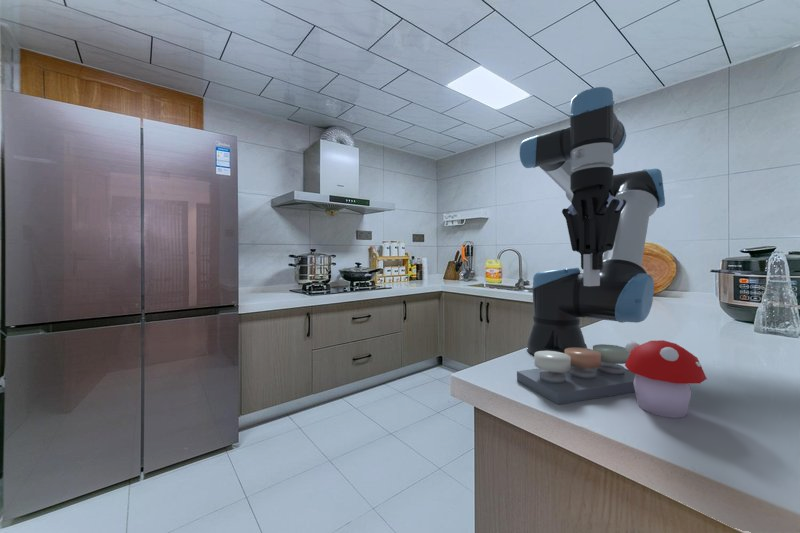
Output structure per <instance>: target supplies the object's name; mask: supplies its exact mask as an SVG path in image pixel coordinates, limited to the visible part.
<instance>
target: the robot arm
mask: <svg viewBox="0 0 800 533" xmlns="http://www.w3.org/2000/svg"><path fill="white" fill-rule="evenodd" d="M614 105H615V101H614V94H613V91H612V89H611V88H609V87H605V86H597V87H592V88H589V89H586V90H585V89H584V90H583V91H580V92H579V93H578V94H576V95H574V97H573V98H572V99H571V100H570V108H569V115H568V117H569V126H567V127H564V128H560V129H556V130H553V131H549V132H546V133H542V134H539V135H535V136H531V137H529V138H526V139H524V140H522V142H521V143H520V146H519V160H520V163H521V164H522V166H523V167H524V168H525V169H532V168H534V169H535V168H537V167H538V168H540V169H541V170H542V171H543V172H544V173H546V175H547V176H548V177H550V178H551V179H552V180H553V181H554V183H556V184H557V185H558V187H560V188H561V189H562V190H563V191H564V192H565V196H566V199H567V201H569V202H570V203H571V204H570V205H568V207H567V208H562V210H561V213H562V215H563V217H564V219H565V221H566V228H567V231H568V236H569V241H570V245H571V250H572V251H573V252H577V253H579V254H580V268H581V270H582V272H583V273H582V272H581V270H580V268H579V267H572V268H571V267H570V268H563V269H561V268H560V269H554V270H545V271H538V272H536V273H535V274H534V275H533V280H532V288H531V289H532V313H533V314H532V318H533V323H532V326H531V329H530V332H529V336H528V338H527V341H526V351H527V352H529V354H531V355H533V356H534V353H535V352H538V351H556V352H561V353H565V349H566V348H573V347H577V348H587V349H588V345H587V344H586V342H585V336H584V335H583V332H582V329H581V322H580V321H581V320H580V319H581V318H585V319H591V320H592V319H594V320H603V321H612V322H618V323H635V324H637V323H642V322H643V321H645V320H646V319H647V318H648V316H649V314H650V312H651V309H652V306H653V302H654V294H655V282H654V278H653V276H652V275H650V274H648V272H647V270H646V268H644V267H643V266H642V265H643V264H642V263H643V258H644V251H645V245H646V241H647V240H646V239H647V235H648V234H647V233H648V226H649V221H650V217H651V216H652V215H654V214H655V212H656V211H657V209H660V208H661V207H664V206H665V205H666V198H665V190H664V183H663V182H664V180H663V174H662V171H661V170H660V169H659V168H650V169H646V168H643V169H642V170H638V171H631V172H625V173H617V174H614V169H613V168H612V167H613V165H614V160H615V159H614V154H616V153H617V152H619V151H620V150H621V149H622V148H623V146H624V145H625V142H626V141H627V140H626V138H627V132H626V128H625V125H624V124H623V123H622V121H620V120H619V119H618V117H617V115H616V113H615V111H614ZM527 348H528V349H527Z"/></svg>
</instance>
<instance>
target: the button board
mask: <svg viewBox="0 0 800 533" xmlns="http://www.w3.org/2000/svg"><path fill="white" fill-rule="evenodd" d="M635 375H636V373H633V372H630V371H629V370H628V369H627V368H626V367H624V366H623V365H622V364H614V363H607V362H603V361H601V366H600V367H596V368H585V367H578V366H574V365H571V369H570V370H569V371H566V372H551V371H546V370H542V369H539V368H533V369H523V370H517V371H516V382H517V381H518V382H519V383H520V384H522V385H524V386H526V387H528V388H529V389H531V390H533V391H534V392H536V393H538V394H539V395H541V396H543V397H544V398H546V399H548V400H550V401H551V402H553V403H554V404H556V405H563V404H569V403H575V402H580V401H587V400H592V399H599V398H605V397H611V396H616V395H622V394H623V395H624V394H629V393H633V392H634V393H635V388H634V383H633V382H634V378H635Z"/></svg>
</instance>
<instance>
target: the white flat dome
mask: <svg viewBox="0 0 800 533" xmlns="http://www.w3.org/2000/svg"><path fill="white" fill-rule="evenodd" d="M533 356H534V359H533V360H534V366H535V367H536V369H538V368H539V369H542V370H546V371H551V372H566V371H569V370H570V369H571V357H570V356H569V355H567V354H565V353H561V352H556V351H538V352H535V353H534V355H533Z"/></svg>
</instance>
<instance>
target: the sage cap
mask: <svg viewBox="0 0 800 533" xmlns="http://www.w3.org/2000/svg"><path fill="white" fill-rule="evenodd" d="M592 350H595V351H598V352H600V353H601V361H603V362H607V363H614V364H618V365H623V364H624V365H625V364H626V361H627V359H628V357H629V355H630V353H629V352H628V351H627V350H626V347H623V346H620V345H614V344H601V343H600V344H594V345H593V346H592Z"/></svg>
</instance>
